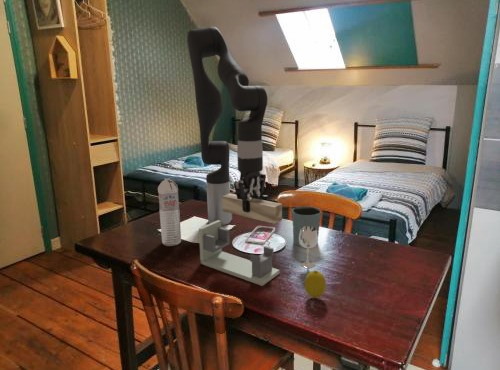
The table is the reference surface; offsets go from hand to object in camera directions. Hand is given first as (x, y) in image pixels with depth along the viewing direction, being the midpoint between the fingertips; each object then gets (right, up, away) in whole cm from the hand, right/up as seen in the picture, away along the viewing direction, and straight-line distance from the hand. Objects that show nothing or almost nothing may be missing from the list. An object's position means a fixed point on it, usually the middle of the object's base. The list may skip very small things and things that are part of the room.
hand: (250, 209), depth 122 cm
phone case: (+4, -12, +26) cm, 29 cm away
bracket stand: (-4, -18, 0) cm, 19 cm away
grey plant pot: (+20, -13, +19) cm, 30 cm away
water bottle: (-28, -13, +20) cm, 37 cm away
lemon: (+17, -23, -16) cm, 33 cm away
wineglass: (+18, -18, +2) cm, 25 cm away
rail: (0, -2, +1) cm, 2 cm away
